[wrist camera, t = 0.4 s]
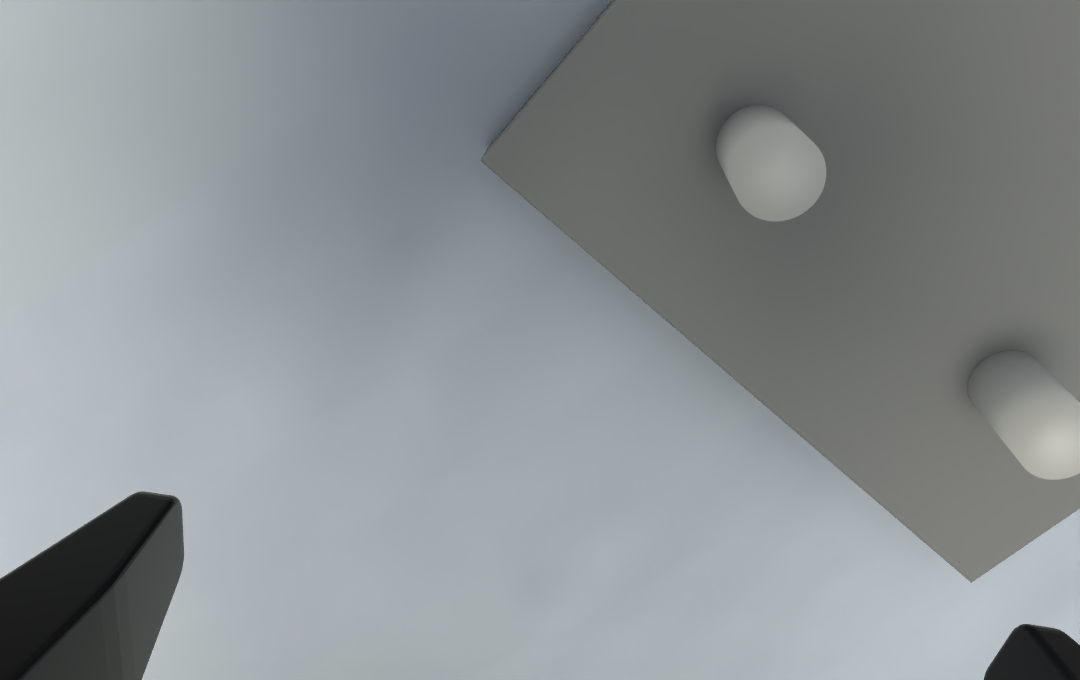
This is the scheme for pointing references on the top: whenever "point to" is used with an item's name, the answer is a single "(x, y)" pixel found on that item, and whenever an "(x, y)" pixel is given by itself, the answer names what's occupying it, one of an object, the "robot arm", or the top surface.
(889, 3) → the peg board
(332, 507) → the top surface
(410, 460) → the top surface
